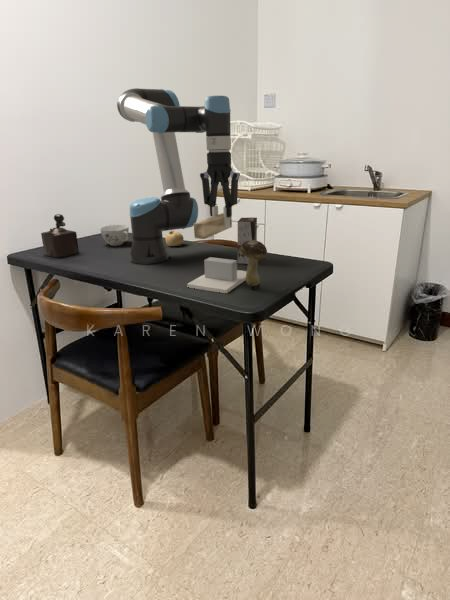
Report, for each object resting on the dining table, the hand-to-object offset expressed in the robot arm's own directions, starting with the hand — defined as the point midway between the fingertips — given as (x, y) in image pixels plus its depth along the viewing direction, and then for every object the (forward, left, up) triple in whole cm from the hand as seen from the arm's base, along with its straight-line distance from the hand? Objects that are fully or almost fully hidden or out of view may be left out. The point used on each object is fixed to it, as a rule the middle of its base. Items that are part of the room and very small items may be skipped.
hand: (221, 226), depth 137 cm
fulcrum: (+2, -4, -17) cm, 18 cm away
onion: (-40, +32, -18) cm, 54 cm away
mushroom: (+14, -6, -17) cm, 24 cm away
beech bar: (0, -5, -1) cm, 5 cm away
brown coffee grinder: (-74, 0, -18) cm, 76 cm away
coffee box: (0, +22, -18) cm, 28 cm away
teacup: (-65, +23, -18) cm, 71 cm away
